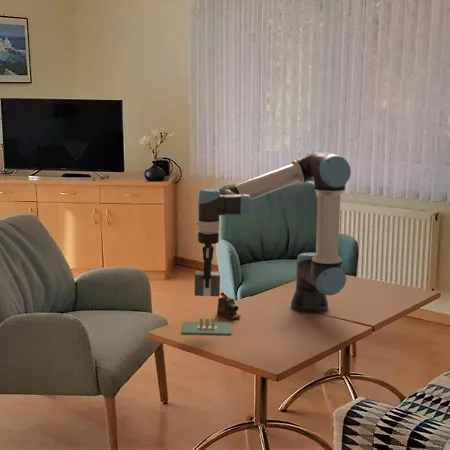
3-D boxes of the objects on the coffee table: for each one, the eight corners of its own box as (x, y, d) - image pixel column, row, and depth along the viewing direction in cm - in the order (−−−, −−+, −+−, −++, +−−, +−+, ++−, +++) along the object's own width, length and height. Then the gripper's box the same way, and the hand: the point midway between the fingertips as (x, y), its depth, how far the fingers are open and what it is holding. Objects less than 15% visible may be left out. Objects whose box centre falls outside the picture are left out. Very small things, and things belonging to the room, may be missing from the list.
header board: (231, 323, 260) (231, 313, 259) (231, 335, 248) (231, 324, 247) (184, 322, 260) (184, 312, 259) (181, 333, 248) (181, 323, 247)
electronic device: (232, 321, 263) (233, 302, 261) (216, 315, 270) (216, 297, 268) (241, 318, 266) (241, 300, 264) (224, 313, 273) (224, 294, 271)
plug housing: (219, 292, 254) (220, 271, 252) (219, 296, 249) (219, 275, 247) (195, 291, 254) (195, 271, 252) (194, 295, 249) (194, 274, 247)
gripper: (199, 226, 256) (198, 286, 260) (196, 236, 238) (195, 300, 242) (219, 227, 255) (218, 286, 260) (218, 237, 238) (216, 301, 242)
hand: (207, 293), depth 251 cm, fingers closed on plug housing, 5 cm apart
